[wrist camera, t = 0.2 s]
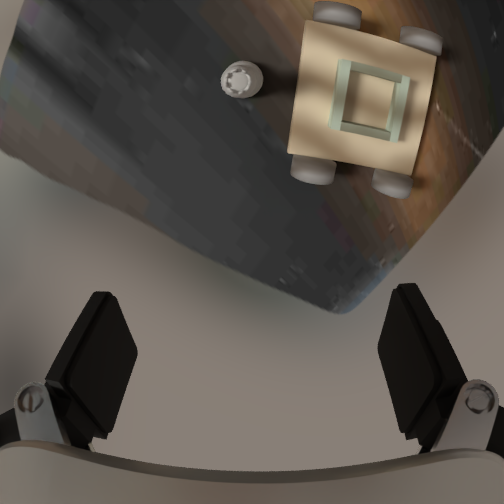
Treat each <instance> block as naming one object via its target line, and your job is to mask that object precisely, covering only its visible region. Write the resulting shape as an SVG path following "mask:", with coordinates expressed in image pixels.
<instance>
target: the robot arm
mask: <svg viewBox="0 0 504 504" xmlns="http://www.w3.org/2000/svg"><path fill="white" fill-rule="evenodd" d="M137 354H138V353H137V347H136V345H135V343H134V340H133V338H132V335H131V333H130V331H129V328H128V326H127V324H126V321H125V319H124V316H123V314H122V311H121V309H120V306H119V303H118V301H117V298H116V297H115V296H113V295H112V294H111V293H110V292H99V291H98V292H97V291H96V292H94V293H93V294H92V296H91V297H90V299H89V301H88V302H87V304H86V306H85V307H84V309H83V310H82V313H81V314H80V316H79V317H78V319H77V321H76V322H75V324H74V326H73V328H72V329H71V331H70V333H69V335H68V336H67V338H66V340H65V342H64V344H63V345H62V347H61V349H60V351H59V353H58V355H57V356H56V358H55V360H54V362H53V364H52V366H51V368H50V370H49V372H48V374H47V376H46V378H45V380H46V383H45V385H43V384H42V383H39V382H31V383H28V384H26V385H25V386H23V387H22V388H21V389H20V390H19V391H18V393H17V395H16V397H15V400H14V408H12V409H11V410H9V411H7V412H5V413H3V414H1V415H0V504H504V408H503V407H501V406H499V398H498V394H497V392H496V390H495V389H494V387H493V386H491V385H490V384H489V383H487V382H486V381H483V380H479V379H477V380H471V381H468V380H467V378H466V376H465V373H464V371H463V369H462V367H461V365H460V362H459V360H458V358H457V356H456V354H455V352H454V350H453V348H452V346H451V344H450V342H449V340H448V338H447V336H446V334H445V332H444V330H443V328H442V326H441V324H440V323H439V321H438V320H436V319H435V317H434V315H433V313H432V311H431V310H430V308H429V306H428V304H427V302H426V300H425V299H424V297H423V295H422V293H421V291H420V290H419V288H418V286H417V285H416V283H405V284H399V285H398V286H397V288H396V289H393V291H392V294H391V298H390V302H389V307H388V310H387V314H386V318H385V321H384V325H383V328H382V332H381V335H380V339H379V342H378V354H379V358H380V360H381V364H382V368H383V371H384V374H385V378H386V381H387V385H388V388H389V392H390V396H391V399H392V403H393V407H394V411H395V414H396V418H397V422H398V426H399V430H400V432H401V433H405V437H406V440H409V439H414V438H418V442H419V445H420V447H419V449H418V451H417V452H416V454H415V455H412V456H407V457H402V458H397V459H391V460H386V461H380V462H373V463H367V464H360V465H353V466H345V467H337V468H326V469H315V470H300V471H276V472H275V471H269V472H251V471H250V472H249V471H220V470H206V469H194V468H185V467H175V466H167V465H160V464H153V463H147V462H141V461H136V460H130V459H125V458H120V457H115V456H111V455H106V454H101V453H97V452H95V449H94V447H93V445H92V438H93V437H97V438H101V439H107V436H108V433H110V432H112V430H113V428H114V424H115V421H116V418H117V415H118V412H119V409H120V406H121V403H122V400H123V397H124V394H125V391H126V387H127V385H128V381H129V379H130V376H131V373H132V370H133V367H134V364H135V361H136V358H137Z"/></svg>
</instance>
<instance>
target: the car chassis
mask: <svg viewBox="0 0 504 504" xmlns="http://www.w3.org/2000/svg"><path fill="white" fill-rule="evenodd" d="M361 15H362V11H361V10H359V9H358V8H356V7H353V6H350V5H347V4H343V3H338V2H331V1H319V2H315V5H314V13H313V21H310V20H306V21H305V27H304V35H303V42H302V50H301V57H300V65H299V72H298V79H297V86H296V93H295V101H294V108H293V114H292V121H291V128H290V135H289V142H288V148H287V152H288V153H290V154H295V155H293V159H292V166H291V172H290V174H291V175H292V176H293V177H294V178H296V179H298V180H301V181H304V182H307V183H312V184H319V185H327V184H331V183H332V182H333V180H334V175H335V170H336V165H337V164H336V163H335V162H334V161H332V160H335V161H341V162H346V163H352V164H357V165H362V166H368V167H373V168H375V171H374V175H373V179H372V183H371V186H372V187H373V188H374V189H376V190H377V191H379V192H381V193H383V194H386V195H388V196H392V197H395V198H401V199H406V198H409V195H410V192H411V188H412V185H413V179H412V178H410V177H409V176H407V175H410V176H411V174H412V170H413V167H414V163H415V159H416V155H417V152H418V148H419V144H420V139H421V135H422V131H423V127H424V122H425V118H426V113H427V108H428V103H429V98H430V93H431V87H432V82H433V76H434V70H435V63H436V56H433V55H438V56H440V55H441V51H442V44H443V38H442V37H441V36H439V35H437V34H435V33H433V32H430V31H428V30H425V29H421V28H417V27H412V26H402V27H401V33H400V40H399V43H398V42H394V41H391V40H388V39H385V38H382V37H378V36H375V35H371V34H368V33H364V32H360V31H356V30H357V29H360V23H361Z"/></svg>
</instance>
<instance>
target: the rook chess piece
mask: <svg viewBox="0 0 504 504" xmlns="http://www.w3.org/2000/svg"><path fill="white" fill-rule="evenodd" d="M262 84H263V75H262V71H261V70H260V69H259V68H258V66H257V65H255V64H253V63H252V62H249V61H238V62H235V63H233V64H232V65H230V66H229V67H228V68H227V69H226V70H225V71H224V73H223V75H222V77H221V85H222V88H223V90H224V91H225V92H226V93H227V94H228V95H230V96H232V97H236V98H247V97H251V96H253V95H254V94H256V93H257V92H258V91H259V90H260V88H261V87H262Z"/></svg>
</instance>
